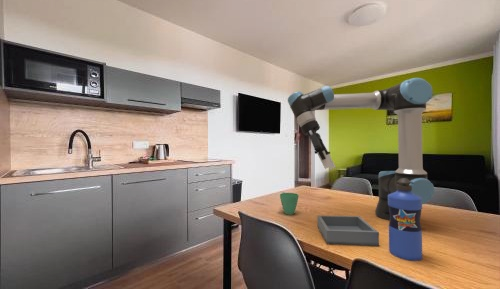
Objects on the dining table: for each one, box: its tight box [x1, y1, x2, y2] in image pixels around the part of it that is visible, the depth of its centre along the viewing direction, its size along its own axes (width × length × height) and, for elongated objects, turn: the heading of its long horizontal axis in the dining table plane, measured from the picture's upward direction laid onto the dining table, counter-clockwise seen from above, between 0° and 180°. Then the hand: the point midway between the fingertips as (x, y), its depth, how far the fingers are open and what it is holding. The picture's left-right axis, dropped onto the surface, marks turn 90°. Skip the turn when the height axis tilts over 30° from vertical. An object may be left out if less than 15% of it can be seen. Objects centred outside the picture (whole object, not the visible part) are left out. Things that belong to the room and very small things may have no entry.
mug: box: [279, 191, 299, 216], centre depth 121 cm, size 15×10×10 cm
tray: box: [316, 214, 380, 247], centre depth 89 cm, size 18×18×5 cm
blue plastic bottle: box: [388, 178, 423, 262], centre depth 73 cm, size 9×9×25 cm
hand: (330, 168), depth 91 cm, fingers open, 13 cm apart
